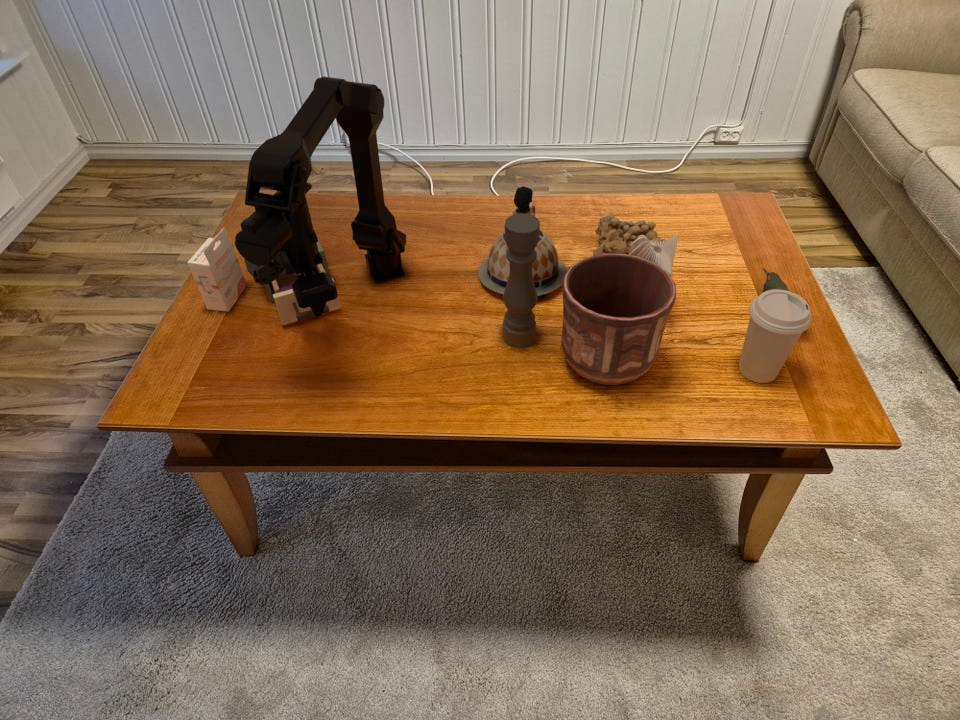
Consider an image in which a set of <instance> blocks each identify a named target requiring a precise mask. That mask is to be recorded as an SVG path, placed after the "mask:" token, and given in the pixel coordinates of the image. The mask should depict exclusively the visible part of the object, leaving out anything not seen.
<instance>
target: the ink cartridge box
mask: <svg viewBox="0 0 960 720" xmlns="http://www.w3.org/2000/svg"><path fill="white" fill-rule="evenodd" d="M186 263H187V265H188V268H189V270H190V272H191V274H192V277H193V279H194V282H195V284H196V286H197V289H198V291H199V292H200V295H201V298H202V300H203V302H204V304H205V307H206V309H207V310H208V311H209V310H210V311H219V312H227V313H228V312H230V311H231V309H232V308H233V306H234V305H235V304H236V302H237V301H238V299H239V298H240V297H241V295H242V294H243V292H245V290H246V288H247V286H248V285H247V281H246V280H245V279H246V278H245V276H244V273H243V271H242V268H241V265H240V262H239V260H238V256H237V253H236V250H235V248H234V245H233V243H232V240H231V238H230V237H229V234H228V232H227V230H226V228H225V227H222V228H221V229H220V230H219V232H218V233H217V234H216V235H215V237H208V238H207V239H206V240H205V241H204V242H203V244H201V246H200V247H199V248H198V249H197V251H196V252H195V253H194V254H193V255H192V256H191V257H190V259H189V260H188V261H187V262H186Z"/></svg>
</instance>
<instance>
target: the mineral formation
mask: <svg viewBox="0 0 960 720" xmlns="http://www.w3.org/2000/svg"><path fill="white" fill-rule="evenodd" d="M655 228H656V222H654V221H648V222H646V220H644V219H643V220H642V219H641V220H638V221H637V222H633V221H632V220H630V221H628V220H623V221H621V220H620V219H619V217H615V215H613V214H611V213H606V215H601V216H600V217H599V221H598V222H597V227H596V228H595V230H594V232H595V234H596V235H598V241H599V242H600V245H598V246H597V248H596V249H595V250H593V251H592V256H595V255H600V254H627V255H629V254H630V253H631V252H632V249H631V247H630V245H631V243H632V242H633V241H635V240H636V239H638V237H639V236H640V235H645V236H646V237H647V239H648V240H649V241H650V240H651V241H652V242H653V243H654V241H655V242H656V244H657V248H658V243H659V244H660V242H661V241H662V243H663V241H664V240H665V241H667V239H666V238H663V239H661V237H660V236H658V232H657V231H656V230H655ZM644 259H645V258H644Z"/></svg>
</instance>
